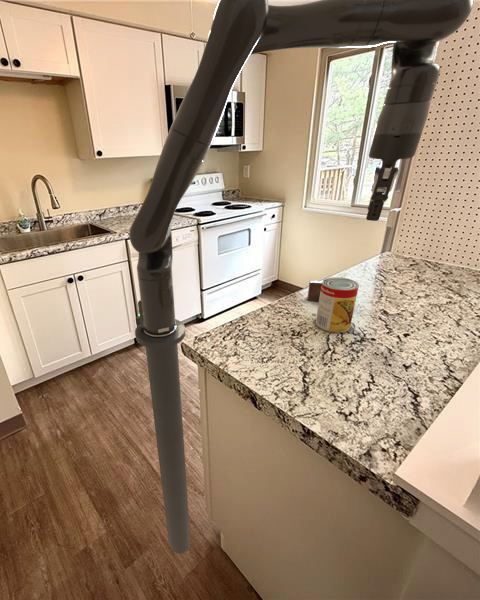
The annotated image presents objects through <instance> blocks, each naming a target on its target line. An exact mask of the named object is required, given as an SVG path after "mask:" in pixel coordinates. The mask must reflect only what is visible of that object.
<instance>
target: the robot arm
mask: <svg viewBox="0 0 480 600" xmlns="http://www.w3.org/2000/svg"><path fill="white" fill-rule="evenodd" d="M473 7H474V0H316V1H311V2H307V3H302V4H295V5H294V4H293V5H272V4H269V0H219V1H218V3H217V6H216V8H215V11H214V15H213V19H212V23H211V27H210V30H209V33H208V36H207V40H206V42H205V45H204V49H203V52H202V55H201V56H202V57H201V59H200V61H199V64H198V67H197V69H196V71H195V75H194V77H193V79H192V81H191V83H190V85H189V86H188V88H187V91H186V93H185V95H184V96H183V99H182V101H181V103H180V104H179V108H178V110H177V112H176V115H175V116H174V119H173V121H172V124H171V126H170V128H169V130H168V133H167V136H166V138H165V141H164V144H163V147H162V149H161V152H160V155H159V158H158V161H157V164H156V167H155V170H154V173H153V176H152V179H151V182H150V185H149V189H148V191H147V193H146V195H145V198H144V200H143V202H142V204H141V206H140V208H139V210H138V212H137V214H136V216H135V218H134V219H133V221H132V223H131V225H130V227H129V232H128V233H129V242H130V244H131V246H132V248H133V249H134V250H135V251H136V252H137V253H138V257H137V258H138V259H137V265H136V275H137V282H138V291H139V299H140V300H138V301H137V307H138V315H137V316H136V317H135V324H136V325H137V326H138V325H141V331H142V332H144V333H145V334H146V335H147V336H149V337H153V338H164V337H168V336H170V335H172V334H173V333H174V332H175V331H176V322H175V319H176V310H175V293H174V281H173V280H174V279H173V260H174V259H173V256H174V255H173V233H172V225H171V223H172V220H173V217H174V215H175V212H176V210H177V207H178V205H180V204H179V203H180V202H181V201H182V198H183V197H184V195H185V194H186V192H187V191H188V190H189V188H190V187H191V185H192V183H193V181H194V179H195V178H196V176H197V175H198V173H199V172H200V169H201V167H202V166H203V164H204V161H205V159H206V156H207V155H208V152H209V151H210V147H211V146H212V144H213V142H214V139H215V137H216V134H217V131H218V129H219V126H220V123H221V121H222V118H223V116H224V112H225V109H226V106H227V104H228V100H229V98H230V94H231V93H232V90H233V87H234V85H235V84H236V81H237V79H238V77H239V75H240V73H242V72H241V71H242V70H243V68H244V66H245V64H246V62H247V60H248V59H249V58H250V56H252V55H256V54H261V53H267V52H272V51H280V50H289V49H348V48H349V49H350V48H351V49H352V48H353V49H355V48H356V49H357V48H372V47H377V46H380V45H383V44H387V43H388V44H389V43H393V45H392V53H391V55H392V56H391V68H390V69H391V71H390V73H391V74H390V80H389V83H388V85H387V86H388V87H387V90H386V92H385V93H386V94H385V97H384V101H383V105H382V108H381V111H380V113H379V115H378V118H377V121H376V125H375V128H374V132H373V136H372V140H371V143H370V146H369V151H368V154H367V155H368V158H369V159H373V160H380V162H379V163H378V167H377V166H376V167H374V170H373V174H372V182H371V187H370V192H371V196H370V200H369V203H368V207H367V215H366V218H365V219H366V221H371V222H377V221H379V220H380V217H381V214H382V211H383V208H384V204H385V203H386V202H387V201H388V200H389V193H391V191H392V190H393V187H394V183H395V180H396V179H397V176H398V174H399V171H400V168H399V167H396V165H397V162H398V161H399V160H408V159H412V158H414V157H415V155H416V152H417V149H418V147H419V144H420V140H421V138H422V134H423V131H424V128H425V125H426V123H427V121H428V116H429V112H430V108H431V103H432V102H431V101H432V99H433V96H434V93H435V90H436V87H437V84H438V82H439V78H440V74H441V66H440V64H439V63H438V62H435V61H434V57H435V53H436V46H437V43H438V42H441V41H443V40H445V39H446V38H449V37H450V36H452V35H453V34H454V33H455V32H457V31H458V30H459V29H460V28H461V27H463V25H464V24H465V22H466V21H467V20H468V18H469V16H470V15H471V12H472V10H473Z"/></svg>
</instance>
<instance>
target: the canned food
mask: <svg viewBox="0 0 480 600" xmlns="http://www.w3.org/2000/svg"><path fill="white" fill-rule="evenodd" d="M321 281H322V285H321V291H320V298H319V301H318V305H317V311H316V317H315V325H316V326H317V328H319V329H320V330H324V331H326V332H330V333H338V334H339V333H345V332H348V331H350V329H351V324H352V321H353V316H354V311H355V307H356V302H357V297H358V291H359V287H360V284H359V283H358V282H357V281H356V280H354V279H352V278H351V279H350V278H346V277H339V276H338V277H327V278H323V279H322V280H321Z"/></svg>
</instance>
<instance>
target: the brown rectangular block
mask: <svg viewBox="0 0 480 600" xmlns="http://www.w3.org/2000/svg"><path fill="white" fill-rule="evenodd" d="M322 281H323V280H312V279H311V280H309V282H308V283H309V284H308V288H307V289H308V290H307V297H306V299H307V301H309V302H319V298H320V291H321V285H322Z"/></svg>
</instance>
